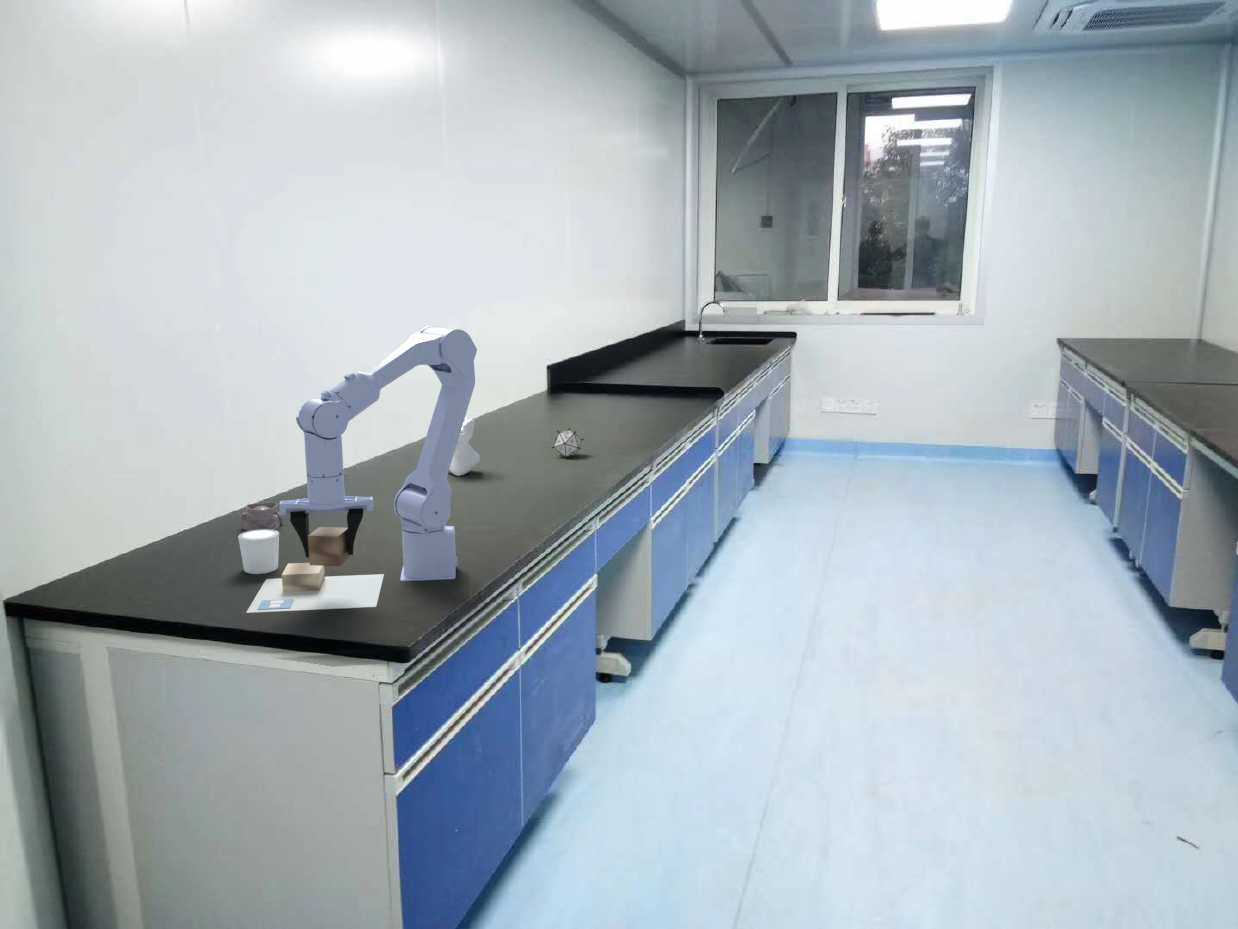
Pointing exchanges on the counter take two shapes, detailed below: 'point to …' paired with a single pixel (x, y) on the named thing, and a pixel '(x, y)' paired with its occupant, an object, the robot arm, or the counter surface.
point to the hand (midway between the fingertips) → (329, 554)
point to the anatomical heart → (464, 451)
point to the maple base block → (302, 577)
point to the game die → (567, 443)
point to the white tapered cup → (259, 550)
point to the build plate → (320, 595)
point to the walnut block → (328, 546)
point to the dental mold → (261, 517)
